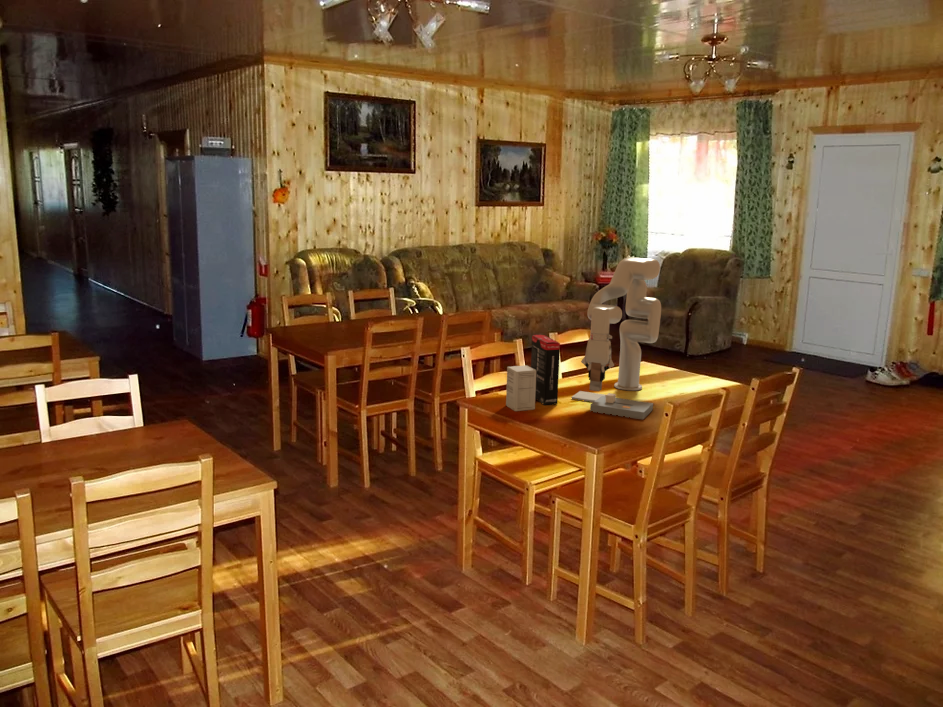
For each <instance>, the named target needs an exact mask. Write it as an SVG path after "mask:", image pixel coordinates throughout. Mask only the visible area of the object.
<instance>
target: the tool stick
mask: <svg viewBox="0 0 943 707" xmlns="http://www.w3.org/2000/svg"><path fill="white" fill-rule="evenodd" d="M601 371H602V369H601V363H594V362H591V376H590V380H589V391H593V392H600V391H602V390H603V389H602V387H603V381H602V382H600V373H601Z"/></svg>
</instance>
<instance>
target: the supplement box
mask: <svg viewBox="0 0 943 707" xmlns="http://www.w3.org/2000/svg"><path fill="white" fill-rule="evenodd" d="M535 392H536V370H535V369H533V368H531V366H529V365H527V364H526V365H513V366H507V367H506V398H505V399H506V400H505V406H507V407H508V408H509V409H511V410H512V411H514V412H520V411H521V412H522V411H533V410H535V409H536V399H535Z"/></svg>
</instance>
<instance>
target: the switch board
mask: <svg viewBox="0 0 943 707" xmlns="http://www.w3.org/2000/svg"><path fill="white" fill-rule="evenodd" d="M653 407H654V402H648V401H642V400H634V399H633V400H632V399H627V398H620V397H616V398H615V402H613V403H608V402H606V396H601V397H600V398H598V399H597V400H596V401H594V402H591V403H590V407H589V411H590V412H591V411H593V412H592V413H597V412H598V413H599V414H603V413H605V415H610V414H612V415H611V416H616V415H618V416H619V417H623V416H625V417H624V418H629V417H630V418H631V419H635V420H637V419H638V420H642V421H643V420H644V419H645V418H647V416H648V415H649V414H650V413H651V412H652V411H653V410H654V408H653Z"/></svg>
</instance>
